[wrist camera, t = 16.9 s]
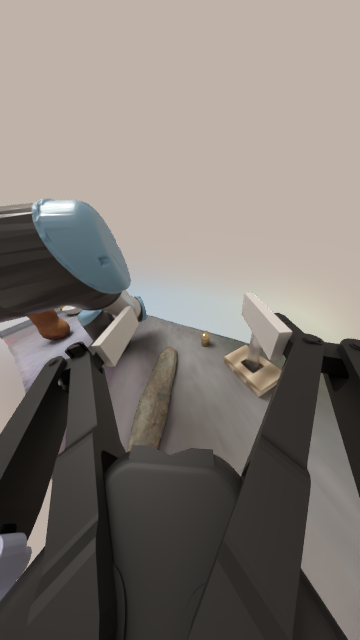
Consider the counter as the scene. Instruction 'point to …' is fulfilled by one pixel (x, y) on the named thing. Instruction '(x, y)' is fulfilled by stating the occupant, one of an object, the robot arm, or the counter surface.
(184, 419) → the counter surface
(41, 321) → the butternut squash
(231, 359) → the guide block
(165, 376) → the elongated rock
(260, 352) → the steel pin
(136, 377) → the counter surface
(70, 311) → the serving bowl
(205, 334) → the brass stub pin
